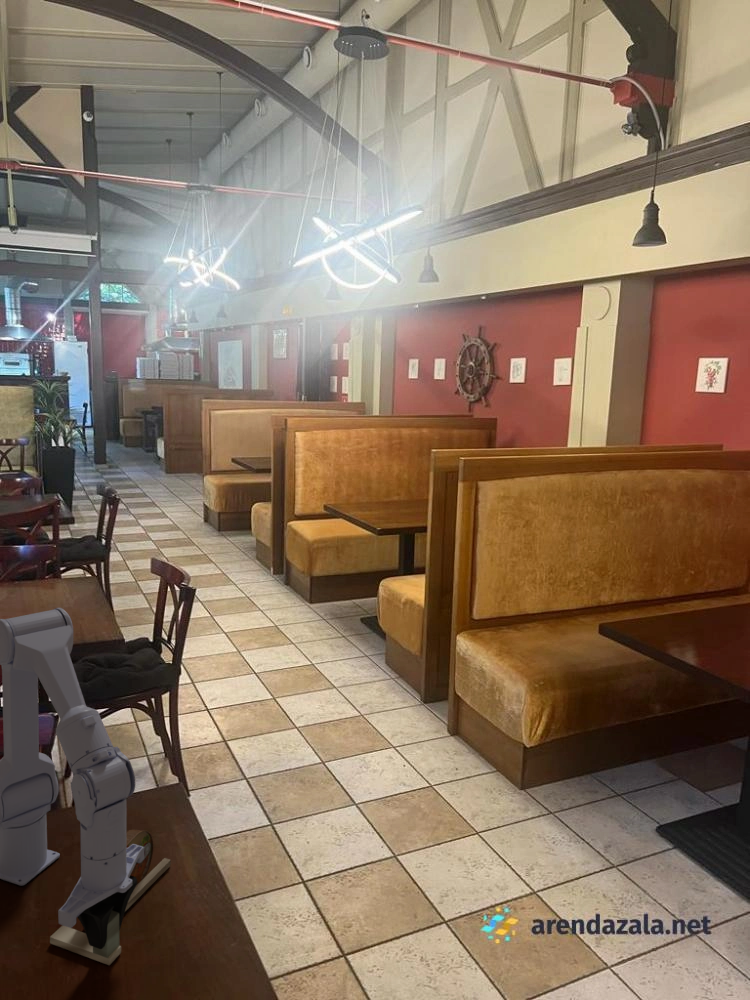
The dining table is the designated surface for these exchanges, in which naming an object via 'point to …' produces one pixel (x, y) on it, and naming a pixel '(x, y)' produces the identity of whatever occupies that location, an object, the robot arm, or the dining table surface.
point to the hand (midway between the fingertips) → (104, 937)
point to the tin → (147, 842)
